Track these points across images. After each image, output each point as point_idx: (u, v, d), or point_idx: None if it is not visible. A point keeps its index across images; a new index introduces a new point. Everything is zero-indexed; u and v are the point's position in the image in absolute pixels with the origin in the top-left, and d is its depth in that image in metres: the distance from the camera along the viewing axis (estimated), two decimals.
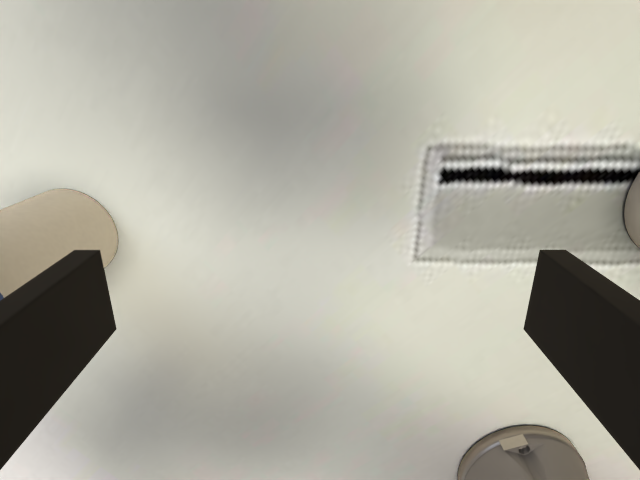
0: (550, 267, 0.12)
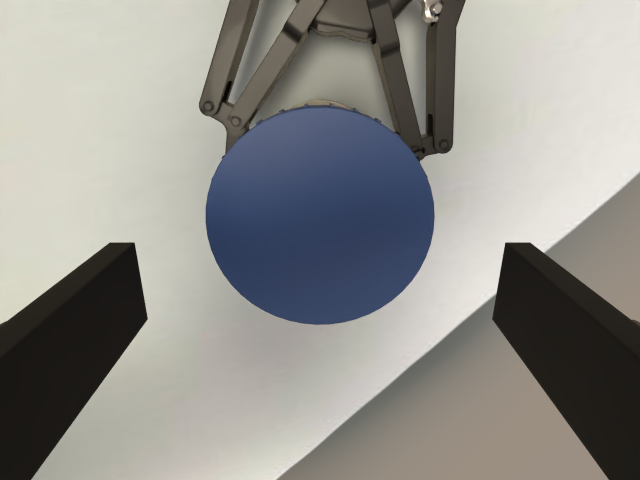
0: (513, 259, 0.12)
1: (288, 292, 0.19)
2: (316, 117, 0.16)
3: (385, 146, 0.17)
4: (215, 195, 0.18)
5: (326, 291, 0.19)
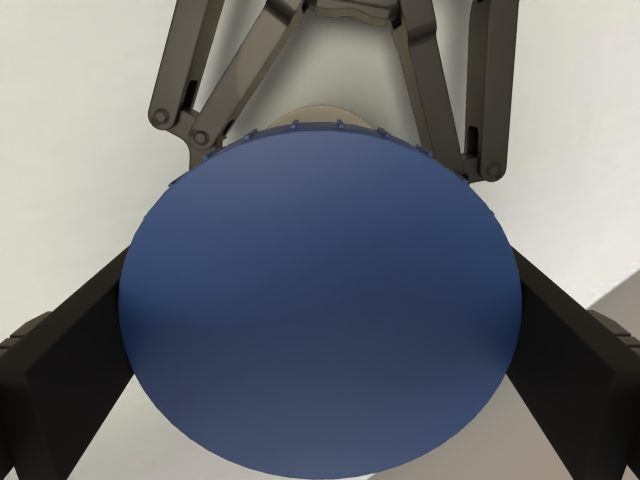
0: None
1: (267, 434, 0.12)
2: (313, 148, 0.09)
3: (441, 201, 0.09)
4: (133, 284, 0.10)
5: (330, 432, 0.11)
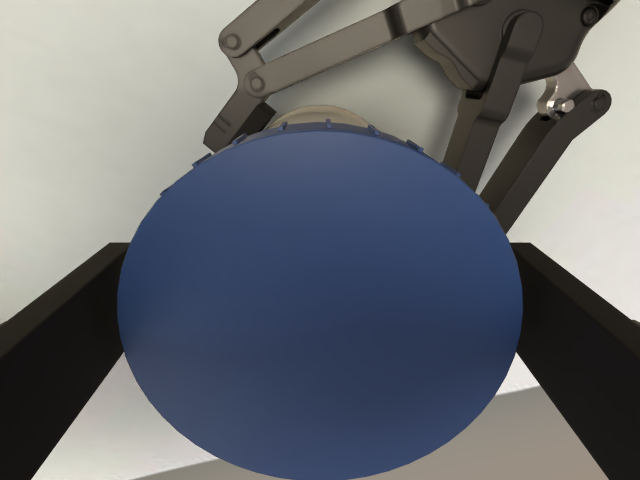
0: None
1: (401, 423, 0.11)
2: (140, 264, 0.10)
3: (233, 180, 0.09)
4: (202, 438, 0.11)
5: (435, 375, 0.11)
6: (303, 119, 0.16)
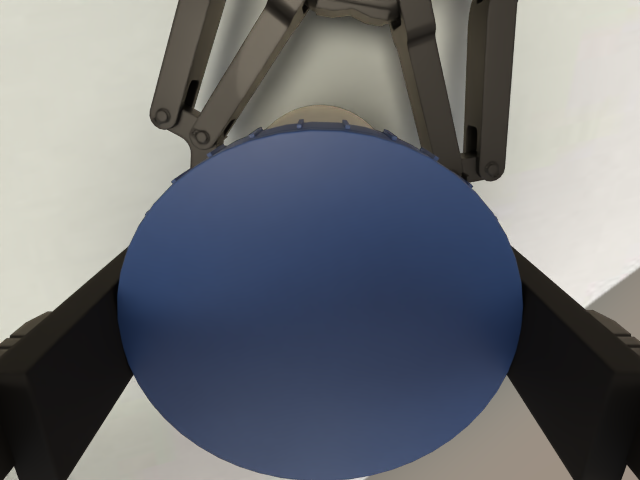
0: None
1: (448, 376, 0.11)
2: (139, 352, 0.10)
3: (160, 246, 0.09)
4: (283, 470, 0.12)
5: (449, 317, 0.10)
6: None
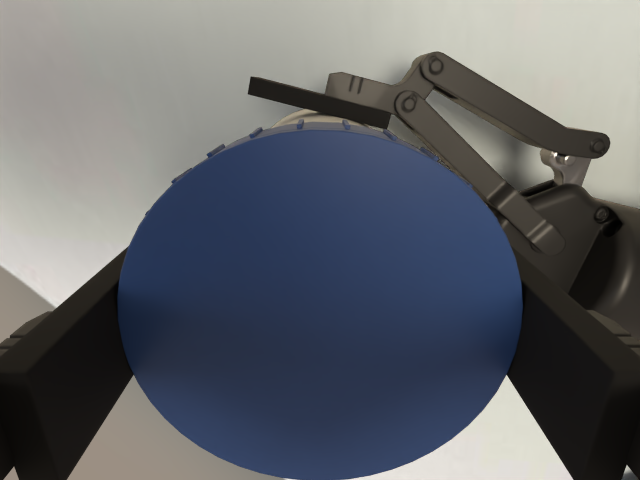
0: None
1: (448, 375, 0.11)
2: (139, 352, 0.10)
3: (160, 246, 0.09)
4: (283, 470, 0.12)
5: (448, 317, 0.10)
6: None
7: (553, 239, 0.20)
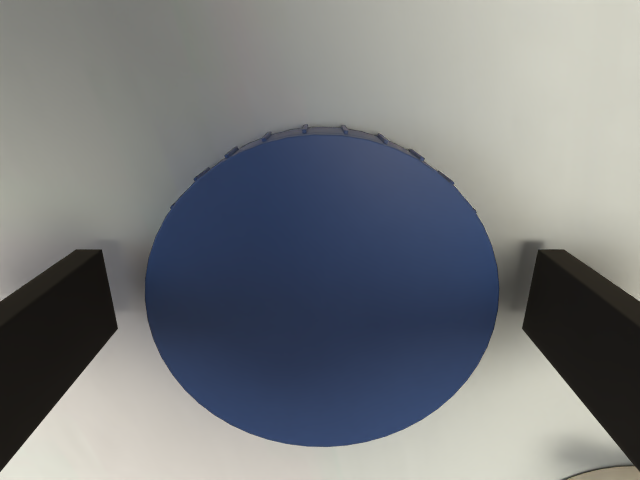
0: (548, 267, 0.12)
1: (435, 350, 0.12)
2: (163, 329, 0.12)
3: (184, 235, 0.11)
4: (288, 436, 0.13)
5: (434, 297, 0.12)
6: None
7: None
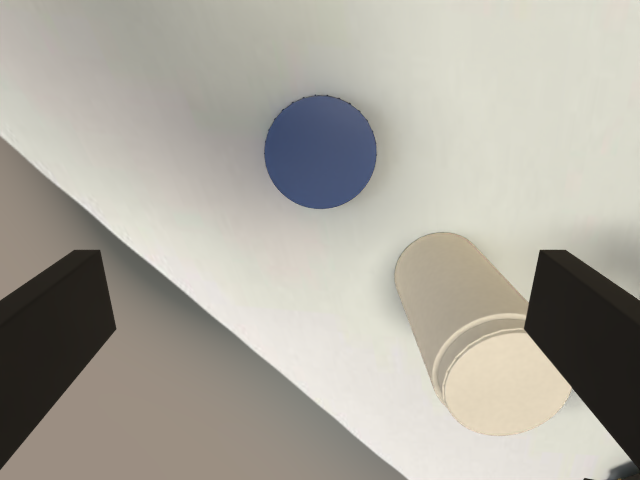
0: (550, 267, 0.12)
1: (357, 168, 0.37)
2: (269, 160, 0.37)
3: (278, 127, 0.36)
4: (309, 204, 0.39)
5: (356, 149, 0.37)
6: None
7: None
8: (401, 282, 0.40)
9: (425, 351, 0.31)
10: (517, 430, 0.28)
